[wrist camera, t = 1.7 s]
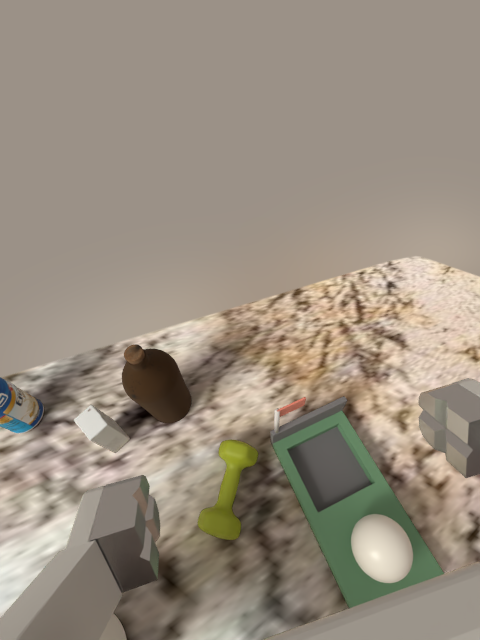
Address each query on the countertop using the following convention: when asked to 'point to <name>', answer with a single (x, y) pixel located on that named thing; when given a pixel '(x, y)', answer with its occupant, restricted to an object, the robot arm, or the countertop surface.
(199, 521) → the dumbbell
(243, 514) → the countertop surface
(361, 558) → the ball
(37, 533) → the countertop surface
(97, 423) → the skincare box
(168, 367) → the olive oil
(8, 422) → the beverage bottle
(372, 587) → the putting green
